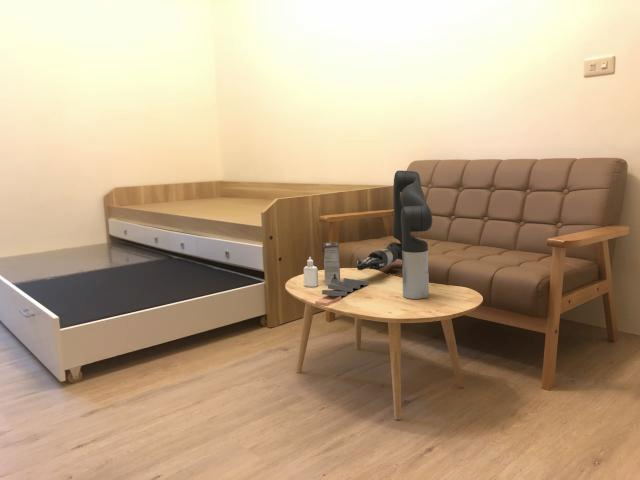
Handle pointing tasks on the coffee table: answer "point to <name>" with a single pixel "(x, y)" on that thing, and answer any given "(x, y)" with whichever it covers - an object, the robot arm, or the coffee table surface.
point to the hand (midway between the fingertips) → (359, 267)
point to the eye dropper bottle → (310, 274)
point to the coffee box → (331, 262)
